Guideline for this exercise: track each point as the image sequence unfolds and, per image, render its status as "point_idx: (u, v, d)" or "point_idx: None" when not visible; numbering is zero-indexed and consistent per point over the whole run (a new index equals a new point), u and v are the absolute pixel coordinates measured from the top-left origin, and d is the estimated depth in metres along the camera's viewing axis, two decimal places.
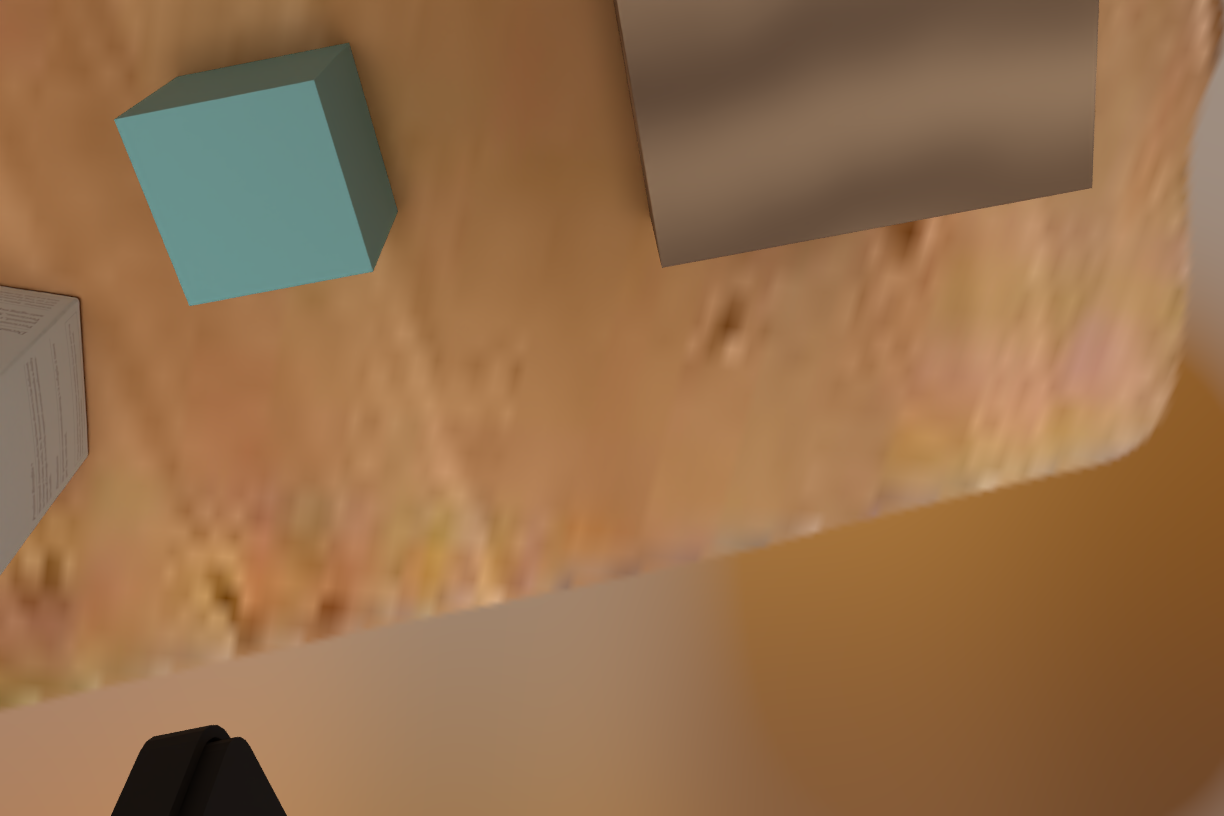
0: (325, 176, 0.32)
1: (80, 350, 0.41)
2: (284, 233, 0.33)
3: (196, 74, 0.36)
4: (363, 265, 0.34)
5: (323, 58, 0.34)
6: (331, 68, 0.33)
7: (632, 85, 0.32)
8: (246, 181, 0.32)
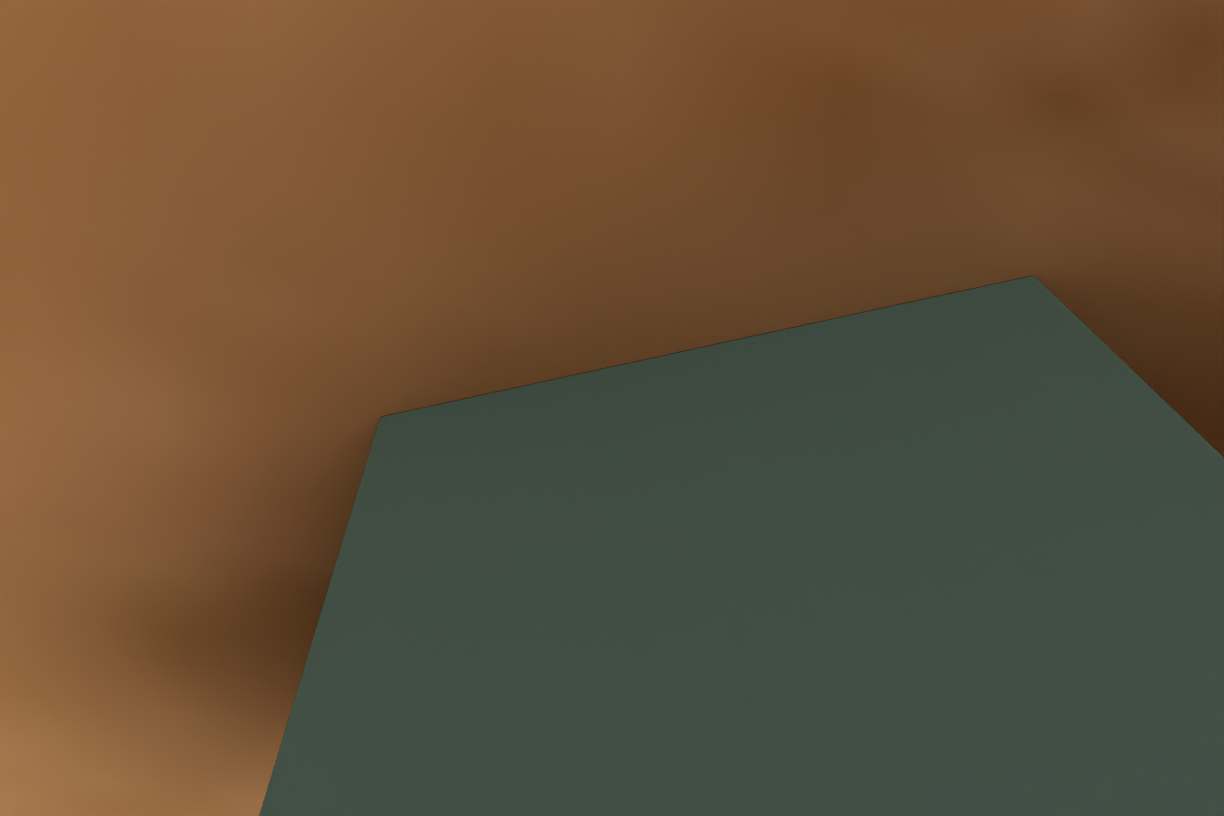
0: None
1: None
2: None
3: None
4: None
5: None
6: None
7: None
8: None
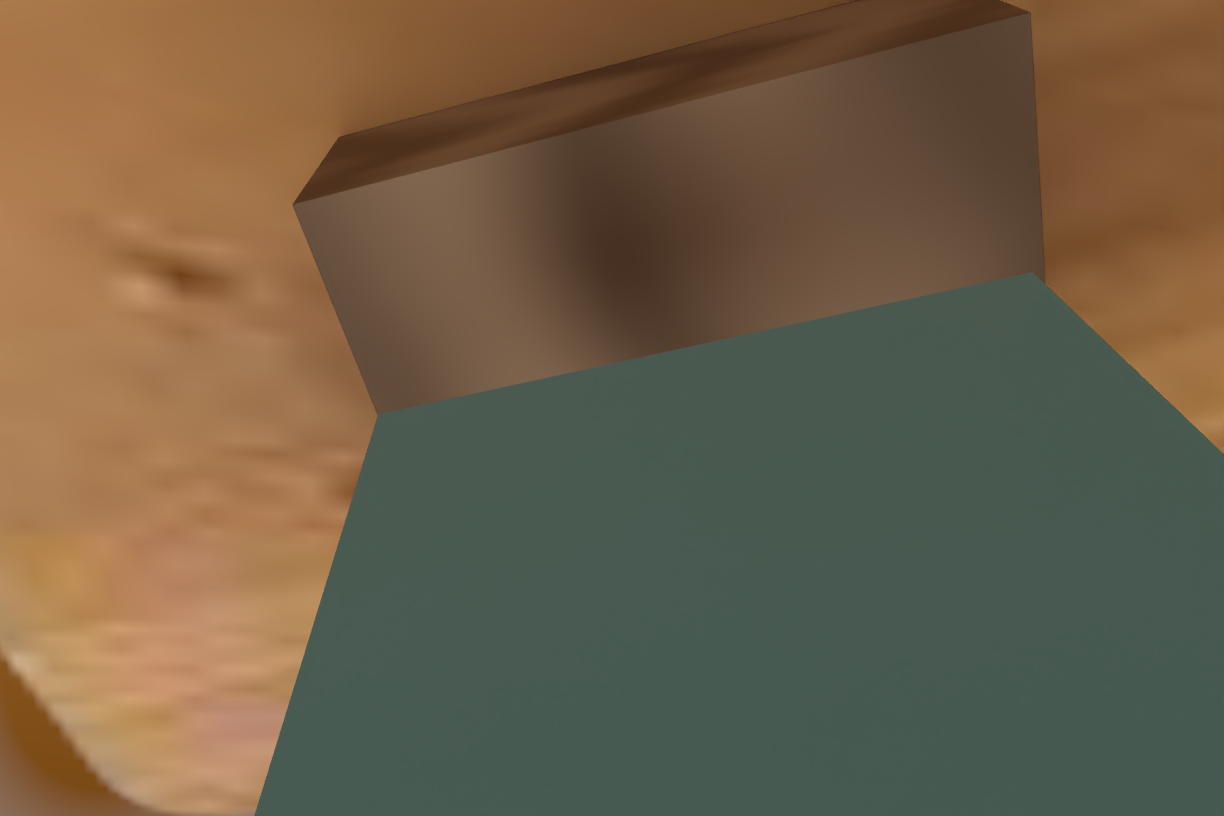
0: None
1: None
2: None
3: None
4: None
5: None
6: None
7: (596, 127, 0.20)
8: None
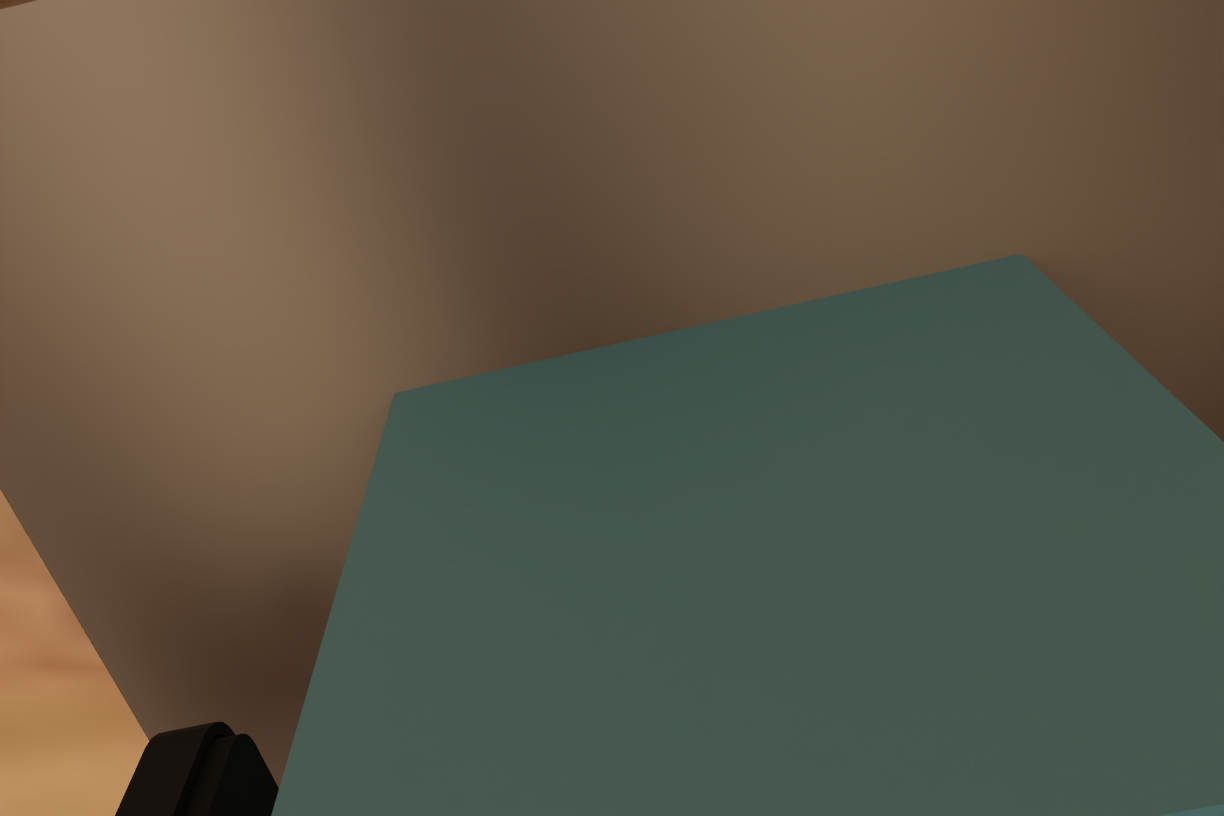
0: None
1: None
2: None
3: None
4: None
5: None
6: None
7: None
8: None
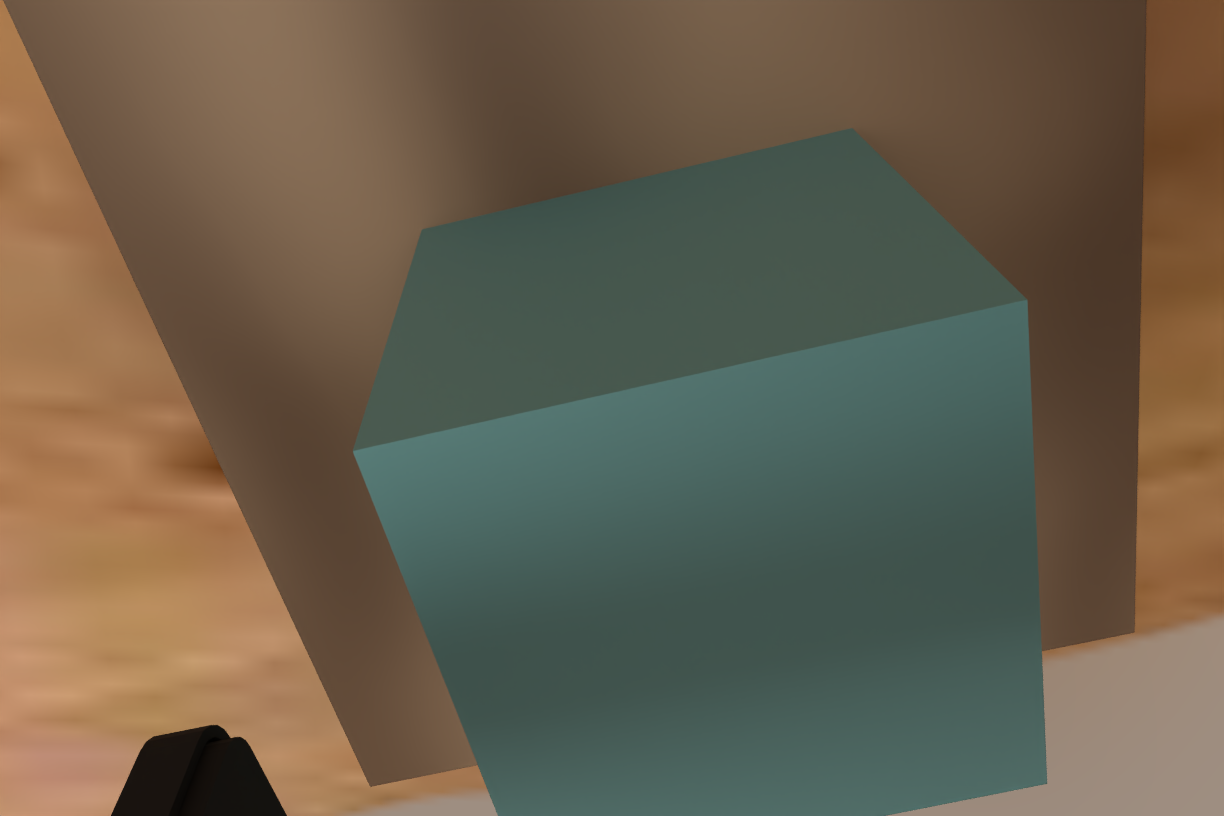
0: (794, 799, 0.12)
1: None
2: (632, 712, 0.11)
3: None
4: None
5: None
6: None
7: None
8: (790, 632, 0.11)
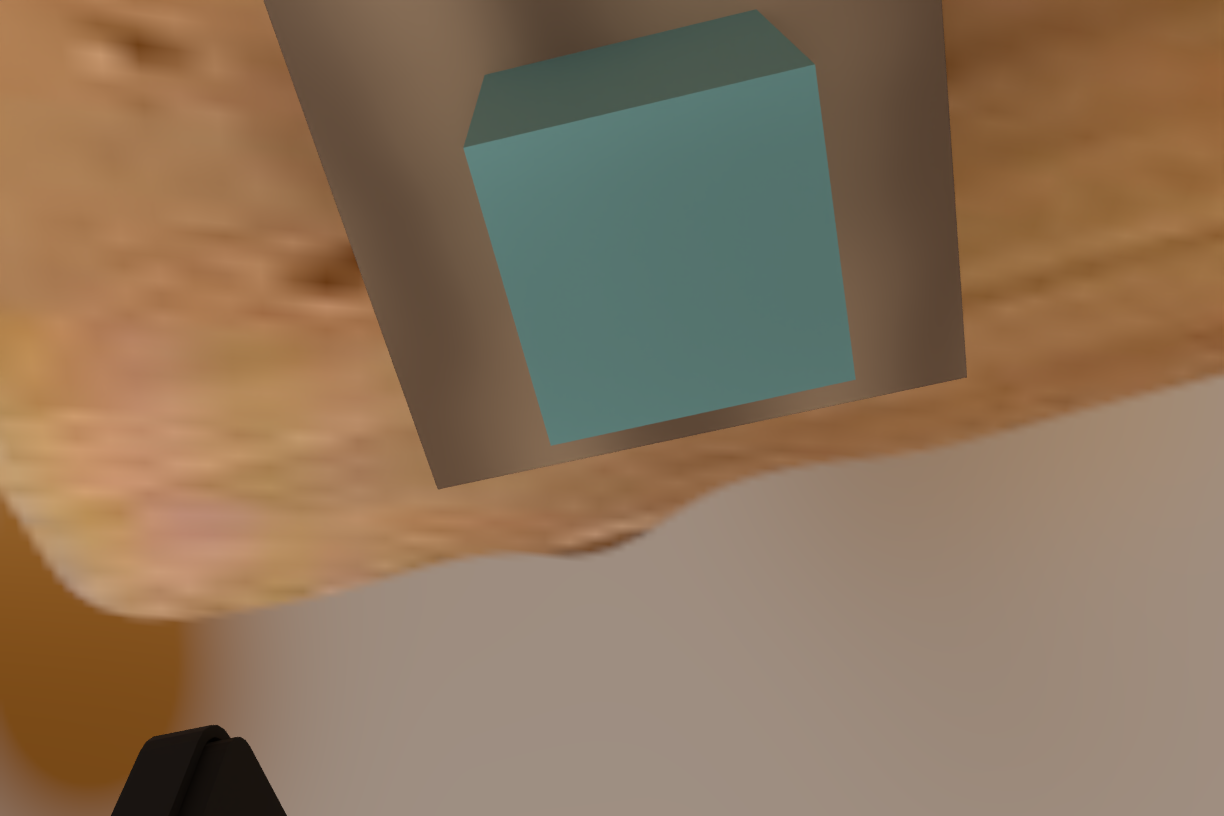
0: (707, 386, 0.20)
1: None
2: (612, 320, 0.20)
3: None
4: (560, 433, 0.21)
5: None
6: None
7: None
8: (699, 269, 0.19)
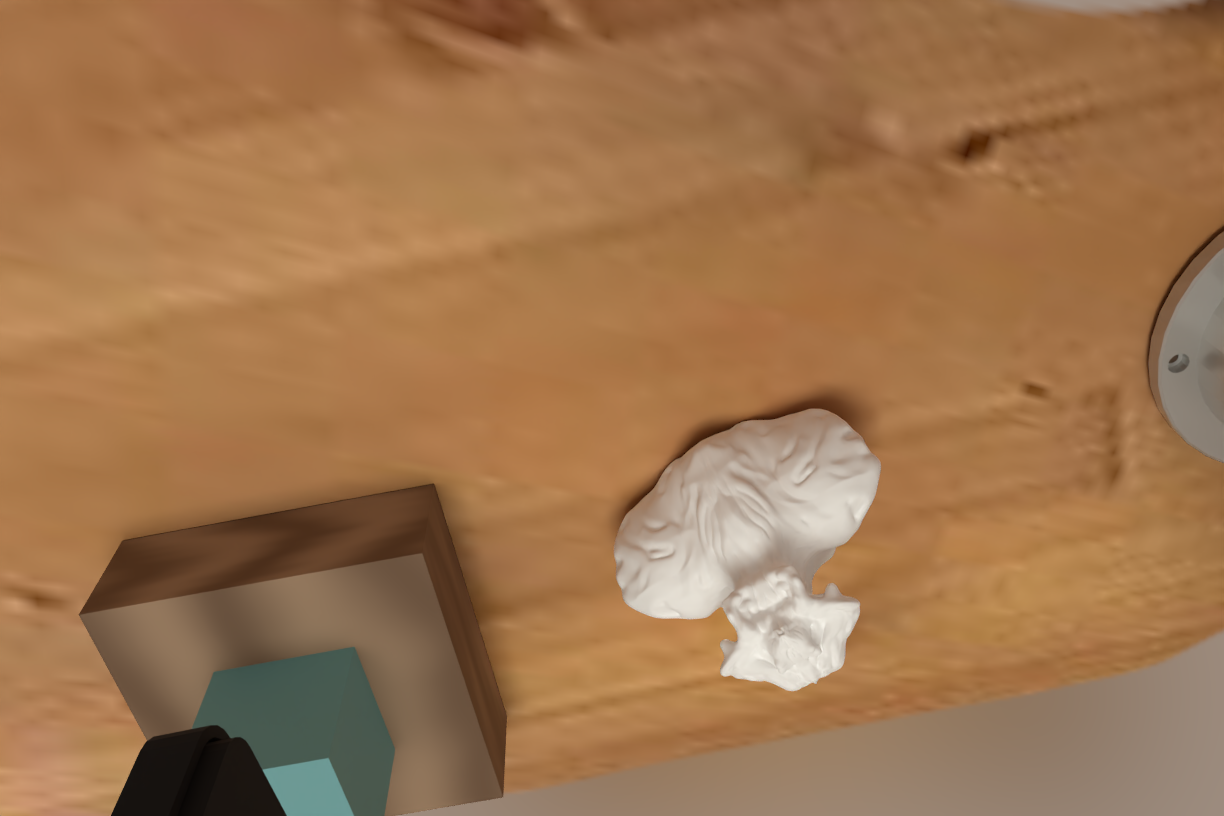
0: None
1: None
2: None
3: (358, 667, 0.44)
4: None
5: (385, 786, 0.45)
6: None
7: (223, 589, 0.43)
8: None
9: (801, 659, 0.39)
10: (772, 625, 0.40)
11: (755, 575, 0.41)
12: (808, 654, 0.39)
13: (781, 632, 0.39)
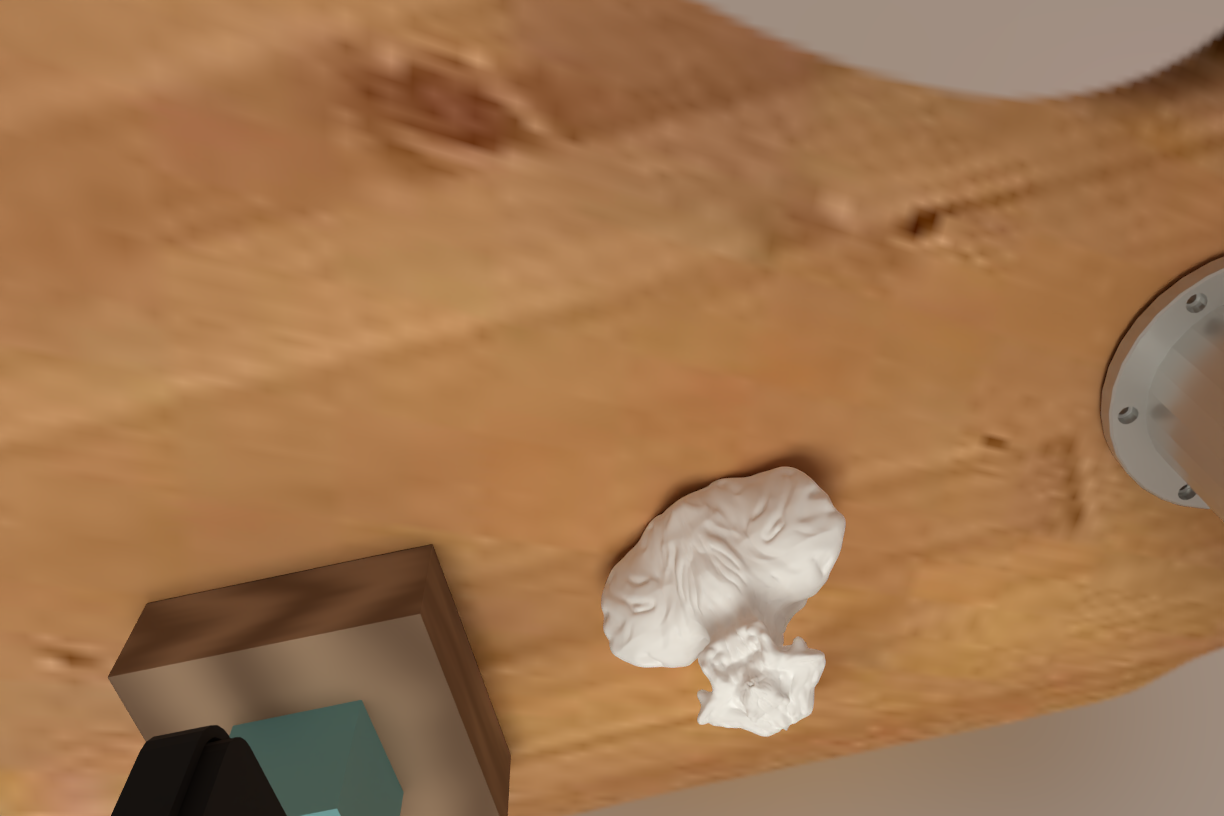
0: None
1: None
2: None
3: (365, 719, 0.48)
4: None
5: None
6: None
7: (239, 650, 0.46)
8: None
9: (771, 708, 0.42)
10: (743, 676, 0.43)
11: (728, 629, 0.44)
12: (777, 704, 0.42)
13: (751, 684, 0.42)
